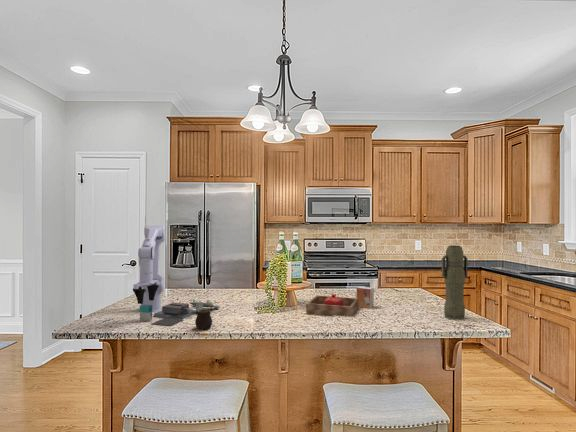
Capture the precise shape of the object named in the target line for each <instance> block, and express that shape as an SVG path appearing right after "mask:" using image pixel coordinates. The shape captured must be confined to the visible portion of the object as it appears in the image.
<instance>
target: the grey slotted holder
mask: <svg viewBox="0 0 576 432" xmlns="http://www.w3.org/2000/svg"><path fill="white" fill-rule="evenodd" d="M161 308H162V310H161V311H162V313H170V314H180V313H183V312H185V311H197V309H196V308H193V307H191V308H190V303H184V302H182V303H180V302H171V303H168V304H165V305H161Z"/></svg>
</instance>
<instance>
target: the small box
mask: <svg viewBox="0 0 576 432" xmlns="http://www.w3.org/2000/svg"><path fill="white" fill-rule="evenodd" d="M374 291H375V287H371V286H370V287H369V286H357V287H356V295H355V296H356V297H355V298H359V308H362V309H372V308H373V307H374V301H375V299H374V295H375V292H374Z"/></svg>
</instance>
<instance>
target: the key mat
mask: <svg viewBox="0 0 576 432" xmlns="http://www.w3.org/2000/svg"><path fill="white" fill-rule="evenodd" d="M179 322H180V323H182V322H184V319H172V318H162V319H160V320H157V321H154V322H152V323H150V325H152V326H153V325H155V326H164V327H173V326H175V325H177V324H179ZM172 325H173V326H172Z"/></svg>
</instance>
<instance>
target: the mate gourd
mask: <svg viewBox="0 0 576 432" xmlns="http://www.w3.org/2000/svg"><path fill="white" fill-rule="evenodd" d="M212 307H213V306H212ZM212 307H209V309H207V308H203V309H200V310H198V311H197V316H196V318H195V320H194V321H195V327H196V329H197V330H200V331H204V330H208V329H209V330H210V328H211V327H212V324H213V318H212V316H211V309H212Z"/></svg>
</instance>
